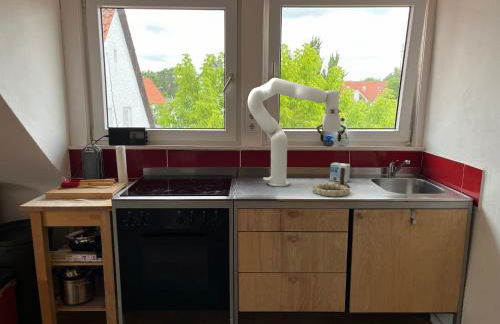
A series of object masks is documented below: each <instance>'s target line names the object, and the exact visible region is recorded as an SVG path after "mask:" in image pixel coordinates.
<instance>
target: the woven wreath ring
mask: <svg viewBox="0 0 500 324" xmlns="http://www.w3.org/2000/svg"><path fill="white" fill-rule="evenodd" d="M312 191H313V192H314V194H317V195H320V196H324V197H333V198H336V197H344V196H348V195H349V194H350V192H351V190H350V187H349V188H348V187H347V186H344V185H340V184H335V183H330V182H327V183H325V182H324V183H318V184H315V185H314V186H312Z"/></svg>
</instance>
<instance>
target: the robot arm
mask: <svg viewBox="0 0 500 324" xmlns="http://www.w3.org/2000/svg"><path fill="white" fill-rule="evenodd" d="M276 95H280V96H285V97H288V98H293V99H299V100H300V99H301V100H305V101H310V102H314V103H316V104H323V103H325V105H324V106H325V108H324V114H323V115H322V122H321V124H319V125H317V126H316V127H315V129H316V131H317V133H318V134H319V135H320V139H319V140H320V141H321V142H322V143H324V140H325V139H324V138H325V136H324V134H325V133H326V132H327V133H328V132H329V133H330V132H331V133H333V132H334V133H335V132H336V133H338V134H337V142H339V143H340V142H341V141H342V135H343V134H344V133H345V131H346V130H347V126H345V125H343V124H341V116H340V113H342V109H339V107H340V91H339V90H337V89H329V90H324V89H321V88H317V87H313V86H310V85H305V84H301V83H298V82H293V81H290V80H286V79H282V78H278V77H273V78H271V79H270V80H269V81H268V82H266V83H264V84H262V85H261V86H259V87H255V88H253V89H252V90H251V91H250V93H249V95H248V97H247V107H248V110H249V112H250V114H251V115H252V117H253V119H254V120H255V122H257V124H258V125H259V126H260V129H261V131H262V132H264V133H265V134H266V136H267V137H268V138H269V140H270V175H269V176H268V177H262V181H265V182H267V184H268V185H269V186H271V187H286V186H287V187H288V186H289V185H290V181H287V177H288V176H287V175H288V174H287V171H288V169H287V167H288V136H287V134H286V133H285V132H284V130H283V128H282V127H281V125H280V124H279V123H278V122H277V121H276V119H275V118H274V117H272V116H271V114H270V113H269V111H268V110H267V108H266V107H265V106H264V103H263V102H264V101H266V100H268V99H270V98H271V97H273V96H276ZM320 129H321V130H320Z"/></svg>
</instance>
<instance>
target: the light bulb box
mask: <svg viewBox="0 0 500 324" xmlns="http://www.w3.org/2000/svg"><path fill="white" fill-rule="evenodd" d="M341 167H343V168H345V175H344V183H347V182H349V181H350V172H351V164H350V163H341V162H332V163H330V169H329V181H334V182H337V183H340V170H341Z"/></svg>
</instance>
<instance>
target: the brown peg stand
mask: <svg viewBox="0 0 500 324" xmlns="http://www.w3.org/2000/svg"><path fill="white" fill-rule="evenodd" d="M344 175H345V168H343V167H341V170H340V182H334V184H340V185H344V186H347V187H348V188H349V189H350V185H349V184H348V183H347V182H344Z"/></svg>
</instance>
